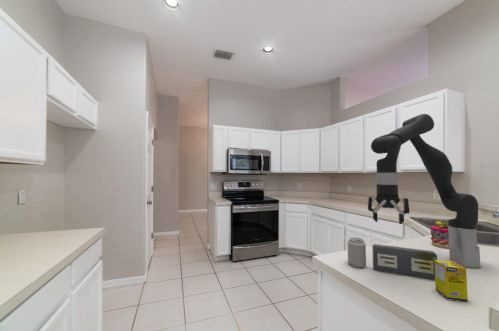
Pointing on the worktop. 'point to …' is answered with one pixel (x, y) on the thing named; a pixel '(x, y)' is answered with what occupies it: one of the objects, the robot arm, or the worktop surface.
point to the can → (356, 252)
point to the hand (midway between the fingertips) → (388, 222)
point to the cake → (440, 235)
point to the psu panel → (404, 261)
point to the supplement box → (451, 280)
